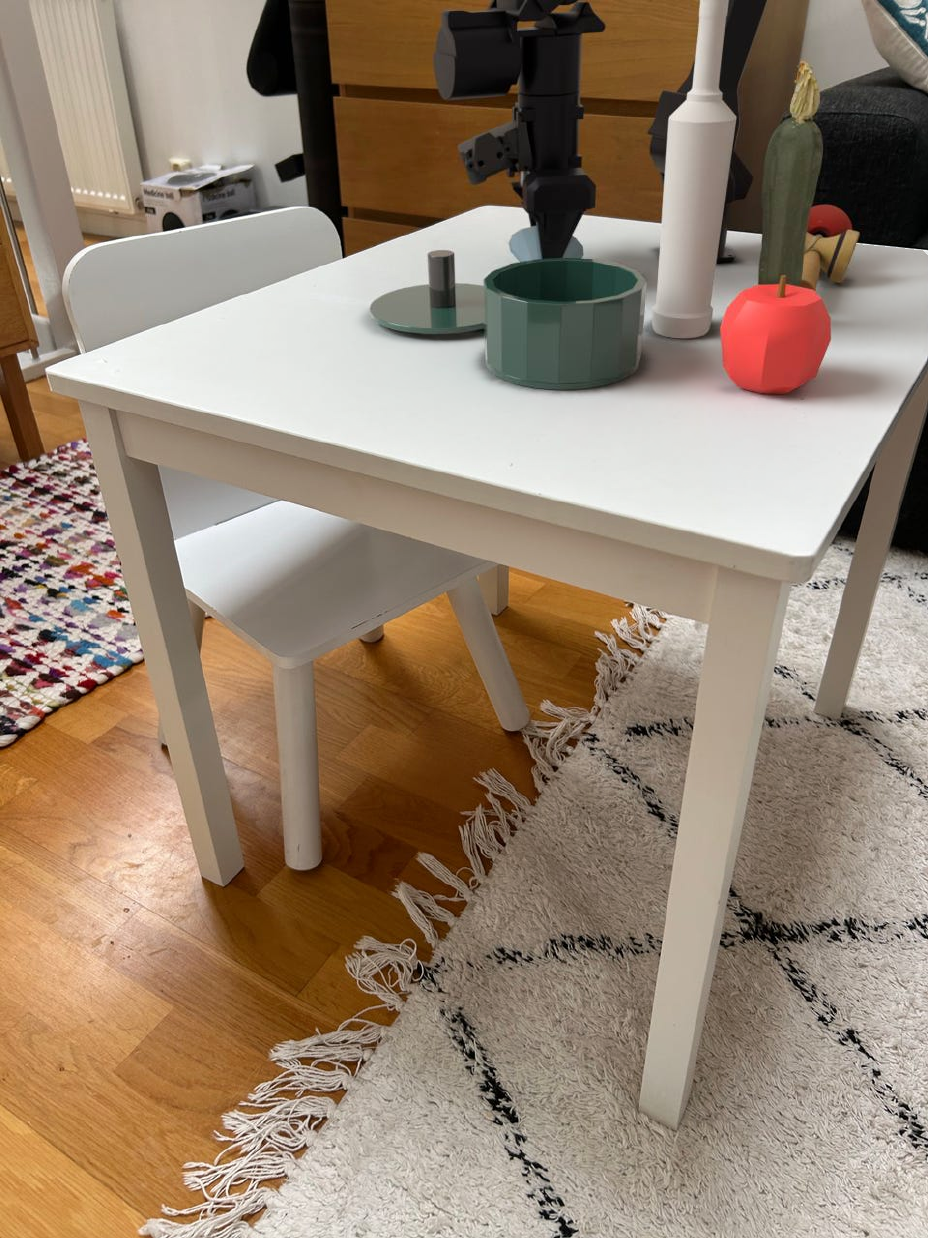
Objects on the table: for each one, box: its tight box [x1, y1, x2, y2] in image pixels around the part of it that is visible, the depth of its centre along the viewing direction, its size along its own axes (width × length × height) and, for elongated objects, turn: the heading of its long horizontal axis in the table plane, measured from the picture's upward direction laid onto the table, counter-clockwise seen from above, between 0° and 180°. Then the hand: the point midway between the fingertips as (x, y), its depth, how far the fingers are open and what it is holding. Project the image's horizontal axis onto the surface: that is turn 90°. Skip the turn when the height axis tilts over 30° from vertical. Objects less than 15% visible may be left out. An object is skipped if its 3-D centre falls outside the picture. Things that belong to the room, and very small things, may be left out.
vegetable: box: [757, 59, 824, 287], centre depth 78 cm, size 4×4×20 cm
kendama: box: [800, 204, 860, 293], centre depth 92 cm, size 8×6×18 cm
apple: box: [719, 275, 832, 395], centre depth 71 cm, size 8×8×8 cm
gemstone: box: [508, 226, 585, 263], centre depth 96 cm, size 8×8×5 cm
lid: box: [369, 249, 484, 335], centre depth 87 cm, size 13×13×6 cm
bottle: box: [651, 0, 736, 339], centre depth 76 cm, size 5×5×25 cm
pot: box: [483, 258, 648, 391], centre depth 76 cm, size 12×12×6 cm
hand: (545, 266), depth 97 cm, fingers closed on gemstone, 5 cm apart
